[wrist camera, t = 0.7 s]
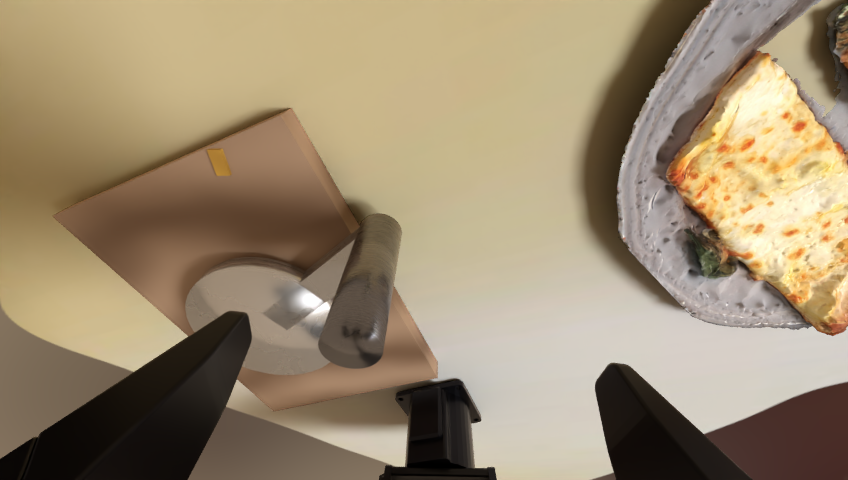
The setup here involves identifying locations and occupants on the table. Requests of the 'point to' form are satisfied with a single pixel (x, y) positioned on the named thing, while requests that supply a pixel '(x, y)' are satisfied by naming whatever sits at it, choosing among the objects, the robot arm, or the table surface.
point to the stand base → (242, 243)
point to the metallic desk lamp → (309, 302)
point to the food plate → (742, 176)
